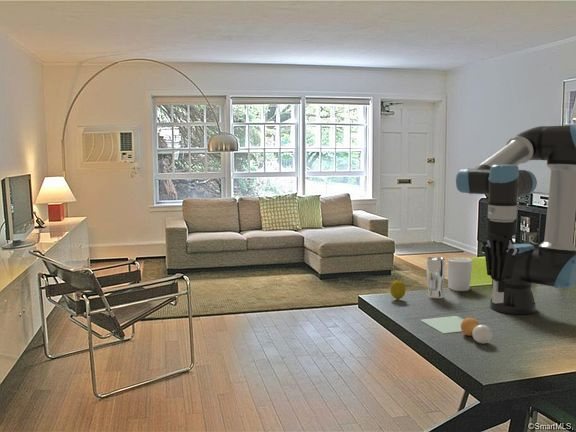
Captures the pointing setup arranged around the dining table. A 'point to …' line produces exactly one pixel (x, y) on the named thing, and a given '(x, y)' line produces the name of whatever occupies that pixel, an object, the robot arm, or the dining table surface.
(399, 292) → the lemon
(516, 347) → the dining table surface
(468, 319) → the object ball
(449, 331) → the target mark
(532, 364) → the dining table surface
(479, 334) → the cue ball
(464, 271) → the candle holder
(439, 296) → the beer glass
